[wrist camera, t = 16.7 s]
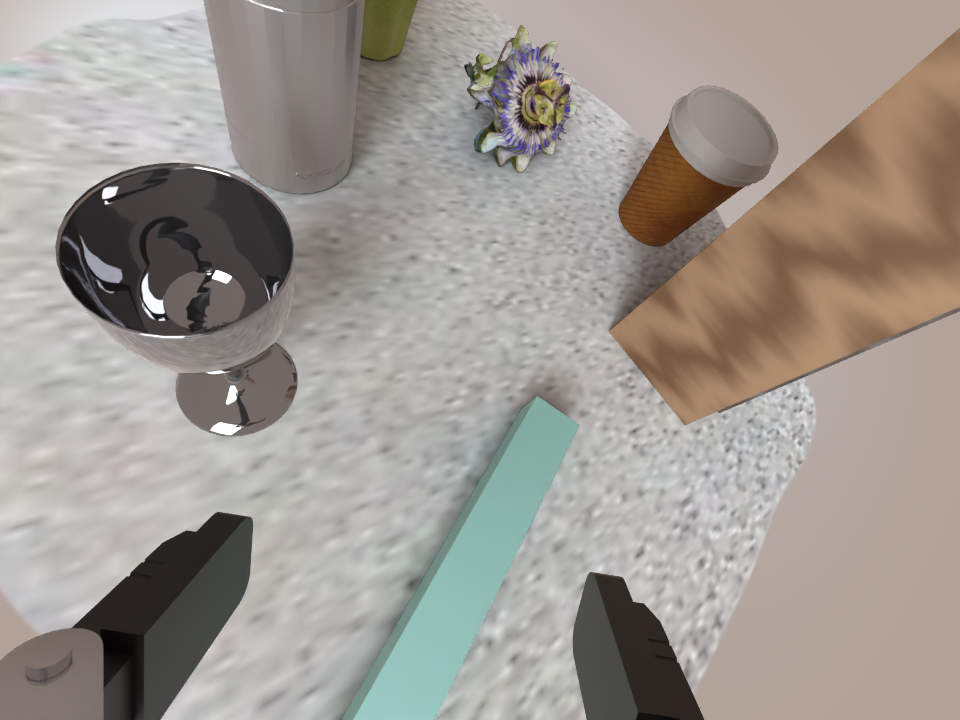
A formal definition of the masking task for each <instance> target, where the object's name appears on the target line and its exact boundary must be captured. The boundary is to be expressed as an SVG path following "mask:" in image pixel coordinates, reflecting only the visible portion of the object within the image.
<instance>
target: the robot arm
mask: <svg viewBox="0 0 960 720" xmlns="http://www.w3.org/2000/svg"><path fill="white" fill-rule="evenodd" d="M364 4H365V0H204V5H205V10H206V15H207V20H208V26H209V31H210V36H211V41H212V46H213V51H214V56H215V61H216V66H217V72H218V77H219V82H220V87H221V92H222V97H223V102H224V109H225V114H226V119H227V124H228V129H229V134H230V139H231V144H232V149H233V153H234V155H235V158H236V160H237V162H238V163H239V165H240V166H241V168H242V169H243V170H244V171H245V172H246V173H247V174H248V175H249V176H250V177H252V178H253V179H255V180H256V181H258V182H259V183H261V184H263V185H265V186H268V187H270V188H272V189H275V190H279V191H283V192H287V193H298V194H303V193H314V192H319V191H323V190H326V189H328V188H330V187H332V186H334V185H336V184H337V183H338V182H340V181H341V180H342V179H343V178H344V177H345V175H346V174H347V173H348V171H349V168H350V166H351V160H352V149H353V138H354V126H355V117H356V104H357V92H358V79H359V67H360V54H361V42H362V29H363V17H364ZM252 534H253V521H252V518H251V517H247V516H241V515H234V514H228V513H222V512H217V513H215V514H214V515H213V516H212V517H211V518H210V519H209V520H208V521H207V522H206V523H205V524H204V525H203V526H202V527H201V528H200V529H199V530H198V531H197V532H193V531H185V532H183V533H181V534H179V535H177V536H175V537H173V538H171V539H169V540H167V541H165V542H163V543H162V544H161V545H160V546H159V547H158V548H157V549H155V550H154V551H153V552H152V553H151V554H150V555H149V556H148V557H147V558H146V559H145V562H144V563H143V562H142V563H141V564H139V565H138V566H137V567H136V568H135V569H134V570H133V571H132V572H131V574H130V576H129V577H128V576H127V577H126V578H125V579H123V580H122V581H121V582H120V583H119V584H118V585H117V586H116V587H115V588H114V589H113V590H112V591H111V592H110V593H109V594H107V595H106V596H105V597H104V598H103V599H102V600H101V601H100V602H99V603H98V604H97V605H96V606H95V607H94V608H93V609H91V610H90V611H89V612H88V613H87V614H86V615H85V616H84V617H83V618H82V619H81V620H80V621H79V622H78V623H77V624H75V625H74V626H73V627H72V628H69V629H61V630H56V631H52V632H49V633H45V634H42V635H40V636H37V637H35V638H33V639H31V640H29V641H27V642H25V643H23V644H21V645H20V646H18V647H16V648H15V649H14V650H12V651H11V652H9V653H8V654H7V655H6V656H5V657H4V658H3V659H2V660H1V661H0V720H160V719H161V718H162V716H163V715H164V713H165V712H166V711H167V709H168V708H169V706H170V705H171V703H172V702H173V700H174V699H175V697H176V696H177V694H178V693H179V691H180V690H181V688H182V687H183V686H184V684H185V683H186V681H187V680H188V678H189V677H190V675H191V674H192V672H193V671H194V669H195V668H196V666H197V665H198V663H199V662H200V661H201V659H202V658H203V656H204V655H205V653H206V652H207V650H208V649H209V647H210V646H211V644H212V643H213V641H214V640H215V638H216V637H217V636H218V634H219V633H220V631H221V630H222V628H223V627H224V625H225V624H226V622H227V621H228V619H229V618H230V616H231V615H232V613H233V612H234V611H235V609H236V608H237V606H238V605H239V603H240V601H241V600H242V598H243V595H244V593H245V591H246V588H247V585H248V581H249V576H250V565H251V549H252ZM573 654H574V660H575V665H576V669H577V674H578V679H579V684H580V689H581V694H582V699H583V703H584V708H585V713H586V718H587V720H704V718H703V716H702V714H701V711H700V709H699V707H698V705H697V702H696V700H695V698H694V696H693V693H692V691H691V689H690V687H689V684H688V682H687V680H686V678H685V676H684V673H683V671H682V669H681V667H680V664H679V663H677V658H676V656H675V653H674V651H673V649H672V647H671V646H669V640H668V638H667V636H666V633H665V631H664V629H663V627H662V625H661V622H660V621H659V620H658V619H657V618H656V617H655V615H654V614H653V613H652V612H651V611H650V610H649V609H648V608H647V606H646V605H645V604H643V603H637V602H633V600H632V598H631V595H630V593H629V590H628V588H627V585H626V583H625V581H624V579H623V578H622V577H619V576H613V575H606V574H600V573H594V572H590V573H589V574H588V576H587V579H586V582H585V586H584V590H583V594H582V598H581V602H580V605H579V609H578V613H577V617H576V621H575V625H574V631H573Z"/></svg>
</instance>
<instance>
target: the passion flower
mask: <svg viewBox="0 0 960 720" xmlns="http://www.w3.org/2000/svg"><path fill="white" fill-rule="evenodd" d="M528 34H529V33H528V31H527V30H526V29H525V28H524V27H523V26H522V25H521V26H520V27H519V29H518V32H517V34H516V37H515V38H511V39H510V40H509V41H507V42H506V44H505V47H504V48H503V50H502V52H501V54H500V57H499V59H498V63H497V65H495V66H493V68H490V69H487V70H483V65H487V64H489V63H491V62H493V61H494V60H493V59H492V58H490V57H489V56H486V55H484V54H479V55H478V56H477V57H476V64H475V65H474V66H473V67H472V64H471V63H470V62H469V64H466V65H465V66H464V67H465V70H466V72H467V75H468V76H469V77H470V79H471V85H470V86H469V87H468V88H467V91H468V92H469V94H470V95H471V96H472V98H474V99H475V100H476V104H475V106H476V107H475V110H476V109H477V108H478V107H479V104H482V105H483V106H485V107H487V108H490V109H491V110H492V111H493V112H494V120H493V121H492V123H491V124H490V125H489V126H488V127H487V128H485V129H482V130H481V131H480V133H479V134H478V135H477V136H476V138H475V140H474V147H475V150H476V151H477V152H481V153H485V152H488V151H490V150H492V149H494V155H495V159H496V162H497V164H498V166H499V167H501V166H502V165H503V164H504V163H505V162H506V160H508V159H510V160H511V162H512V164H513V167H514V169H515V170H516V171H517V172H518V173H521V172H523V171H524V170H525V169H526V168H527V166H528V164H529V161H530V159H531V157H532V156H533V155H535V154H536V153H537V152H541V151H543V153H544V154H547V155H552V154H553V152H554V147H555V144H556V143H555V139H556V138H558V139H560V138H559V134H560V133H561V132H563V133H565V132H564V131H563V130H564V129H563V123H565V120H566V119H568V118H570V117H572V116H573V115H574V114H575V113H576V111H577V107H576V106H575V105H574V104H572V103H569V102H571V100H568V98H569V97H570V96H569V91H570V85H571V83H572V79H571V78H570V77H569V76H568V75H565V74H563V73H556V72H555V70H556V68H557V67H558V66H559V63H556V64H555V65H554V63H552V61H553V59H552V57H553V55H554V53H555V51H556V48H557V46H558V44H557V43H556V42H555V41H552V42H550V43H549V44H546V45H545V46H543V47H542V48H541V49H540V48H538V47H537V48H536V50H534V49H531V47H532V44H531V42H529V38H528ZM509 42H511V43H512V50H511V52H510V53H509V55H508V58H507V59H506V60H505V61H501V59H502V56H503V53H504V51H505V49H506V47H507V45H508V43H509ZM553 65H554V66H553ZM563 70H564V68H563ZM475 72H478V73H477V74H476V75H475V76H474V73H475ZM565 134H566V133H565ZM560 140H561V139H560Z"/></svg>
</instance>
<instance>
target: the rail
mask: <svg viewBox="0 0 960 720" xmlns="http://www.w3.org/2000/svg"><path fill="white" fill-rule="evenodd" d="M578 427H579V424H578V423H576V422H575V421H573V420H572V419H570V418H569V417H567V416H566V415H564V414H563V413H562V412H560V411H559V410H557V409H556V408H554V407H553V406H551V405H550V404H548V403H547V402H546V401H544V400H543V399H541V398H540V397H538V396H536V397H535V398H534V399H533V400H532V401H530V402H529V403H528V404H527V405H526V406H525V407H524V408H522V409H521V410H520V412H519V413H518V415H517V417H516V419H515V420H514V422H513V424H512V426H511V427H510V429H509V431H508V432H507V434H506V436H505V438H504V439H503V441H502V443H501V445H500V446H499V448H498V450H497V451H496V453H495V455H494V457H493V458H492V460H491V462H490V464H489V465H488V467H487V469H486V470H485V472H484V474H483V476H482V477H481V479H480V481H479V483H478V484H477V486H476V488H475V489H474V491H473V493H472V495H471V496H470V498H469V500H468V502H467V503H466V505H465V507H464V509H463V510H462V512H461V514H460V515H459V517H458V519H457V521H456V522H455V524H454V526H453V528H452V529H451V531H450V533H449V534H448V536H447V538H446V540H445V541H444V543H443V545H442V547H441V548H440V550H439V552H438V553H437V555H436V557H435V559H434V560H433V562H432V564H431V566H430V567H429V569H428V571H427V572H426V574H425V576H424V578H423V579H422V581H421V583H420V585H419V586H418V588H417V590H416V591H415V593H414V595H413V597H412V598H411V600H410V602H409V604H408V605H407V607H406V609H405V611H404V612H403V614H402V616H401V617H400V619H399V621H398V623H397V624H396V626H395V628H394V630H393V631H392V633H391V635H390V636H389V638H388V640H387V642H386V643H385V645H384V647H383V649H382V650H381V652H380V654H379V655H378V657H377V659H376V661H375V662H374V664H373V666H372V668H371V669H370V671H369V673H368V674H367V676H366V678H365V680H364V681H363V683H362V685H361V687H360V688H359V690H358V692H357V693H356V695H355V697H354V699H353V700H352V702H351V704H350V706H349V707H348V709H347V711H346V713H345V714H344V716H343V718H342V719H341V720H434V719H435V717H436V715H437V713H438V711H439V709H440V707H441V705H442V703H443V701H444V699H445V697H446V695H447V693H448V691H449V689H450V687H451V685H452V683H453V681H454V679H455V677H456V675H457V673H458V671H459V669H460V667H461V665H462V663H463V661H464V659H465V657H466V654H467V652H468V650H469V648H470V646H471V644H472V642H473V640H474V638H475V636H476V634H477V632H478V630H479V628H480V626H481V624H482V622H483V620H484V618H485V616H486V614H487V612H488V610H489V608H490V606H491V604H492V602H493V600H494V598H495V596H496V594H497V592H498V590H499V588H500V586H501V583H502V581H503V579H504V577H505V575H506V573H507V571H508V569H509V567H510V565H511V563H512V561H513V559H514V557H515V555H516V553H517V551H518V549H519V547H520V545H521V543H522V541H523V539H524V537H525V535H526V533H527V531H528V529H529V527H530V525H531V523H532V521H533V519H534V517H535V514H536V512H537V510H538V508H539V506H540V504H541V502H542V500H543V498H544V496H545V494H546V492H547V490H548V488H549V486H550V484H551V482H552V480H553V478H554V476H555V474H556V472H557V470H558V468H559V466H560V464H561V462H562V460H563V458H564V456H565V454H566V452H567V450H568V448H569V445H570V443H571V441H572V439H573V437H574V435H575V433H576V431H577V429H578Z"/></svg>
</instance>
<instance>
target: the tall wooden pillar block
mask: <svg viewBox="0 0 960 720" xmlns="http://www.w3.org/2000/svg"><path fill="white" fill-rule="evenodd" d="M959 311H960V28H959V29H958V30H957V31H956V32H955V33H954V34H952V35H951V36H950V37H949V38H948V39H947V40H945V41H944V42H943V43H942V44H941V45H940V46H938V47H937V48H936V49H935V50H934V51H933V52H932V53H930V54H929V55H928V56H927V57H926V58H925V59H923V60H922V61H921V62H920V63H919V64H918V65H916V66H915V67H914V68H913V69H912V70H911V71H910V72H908V73H907V74H906V75H905V76H904V77H903V78H902V79H900V80H899V81H898V82H897V83H896V84H895V85H893V86H892V87H891V88H890V89H889V90H888V91H886V92H885V93H884V94H883V95H882V96H881V97H880V98H878V99H877V100H876V101H875V102H874V103H873V104H871V105H870V106H869V107H868V108H867V109H866V110H864V111H863V112H862V113H861V114H860V115H859V116H858V117H856V118H855V119H854V120H853V121H852V122H851V123H849V124H848V125H847V126H846V127H845V128H844V129H843V130H841V131H840V132H839V133H838V134H837V135H836V136H834V137H833V138H832V139H831V140H830V141H829V142H827V143H826V144H825V145H824V146H823V147H822V148H821V149H820V150H818V151H817V152H816V153H815V154H814V155H812V156H811V157H810V158H809V159H808V160H807V161H806V162H805V163H803V164H802V165H801V166H800V167H799V168H797V169H796V170H795V171H794V172H793V173H792V174H791V175H789V176H788V177H787V178H786V179H785V180H784V181H782V182H781V183H780V184H779V185H778V186H777V187H775V188H774V189H773V190H772V191H771V192H770V193H769V194H767V195H766V196H765V197H764V198H763V199H762V200H760V201H759V202H758V203H757V204H756V205H755V206H754V207H752V208H751V209H750V210H749V211H748V212H747V213H745V214H744V215H743V216H742V217H741V218H740V219H738V220H737V221H736V222H735V223H734V224H733V225H732V226H731V227H729V228H728V229H727V230H726V231H725V232H723V233H722V234H721V235H720V236H719V237H718V238H716V239H715V240H714V241H713V242H712V243H711V244H710V245H708V246H707V247H706V248H705V249H704V250H703V251H701V252H700V253H699V254H698V255H697V256H696V257H695V258H693V259H692V260H691V261H690V262H689V263H688V264H686V265H685V266H684V267H683V268H682V269H681V270H680V271H678V272H677V273H676V274H675V275H674V276H673V277H671V278H670V279H669V280H668V281H667V282H666V283H664V284H663V285H662V286H661V287H660V288H659V289H658V290H656V291H655V292H654V293H653V294H652V295H651V296H649V297H648V298H647V299H646V300H645V301H644V302H643V303H641V304H640V305H639V306H638V307H637V308H636V309H634V310H633V311H632V312H631V313H630V314H629V315H627V316H626V317H625V318H624V319H623V320H622V321H621V322H619V323H618V324H617V325H616V326H615V327H614V328H612V329H611V330H610V331H609V332H610V333H611V334H612V336H613V337H614V338H615V339H616V341H617V342H618V343H619V344H620V346H621V347H622V348H623V349H624V350H625V352H626V353H627V354H628V355H629V357H630V358H631V359H632V360H633V361H634V363H635V364H636V365H637V366H638V368H639V369H640V370H641V371H642V373H643V374H644V375H645V376H646V377H647V379H648V380H649V381H650V382H651V384H652V385H653V386H654V387H655V389H656V390H657V391H658V392H659V393H660V395H661V396H662V397H663V398H664V400H665V401H666V402H667V403H668V405H669V406H670V407H671V408H672V409H673V411H674V412H675V413H676V414H677V416H678V417H679V418H680V419H681V421H682V422H683V423H684V424H685V425H687V424H689V423H691V422H694V421H696V420H698V419H701V418H703V417H705V416H708V415H710V414H712V413H714V412H717V411H718V412H719V413H721V412H723V411H725V410H728V409H730V408H732V407H735V406H737V405H740V404H742V403H744V402H747V401H749V400H751V399H754V398H756V397H758V396H761V395H763V394H765V393H768V392H770V391H773V390H775V389H777V388H780V387H782V386H784V385H787V384H789V383H791V382H794V381H796V380H799V379H801V378H803V377H806V376H808V375H810V374H813V373H815V372H817V371H820V370H822V369H824V368H827V367H829V366H832V365H834V364H836V363H839V362H841V361H843V360H846V359H848V358H850V357H853V356H855V355H857V354H860V353H862V352H864V351H867V350H869V349H872V348H874V347H876V346H879V345H881V344H883V343H886V342H888V341H891V340H893V339H895V338H898V337H900V336H902V335H905V334H907V333H909V332H912V331H914V330H916V329H919V328H921V327H923V326H926V325H928V324H931V323H933V322H935V321H938V320H940V319H942V318H945V317H947V316H950V315H952V314H954V313H957V312H959Z"/></svg>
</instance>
